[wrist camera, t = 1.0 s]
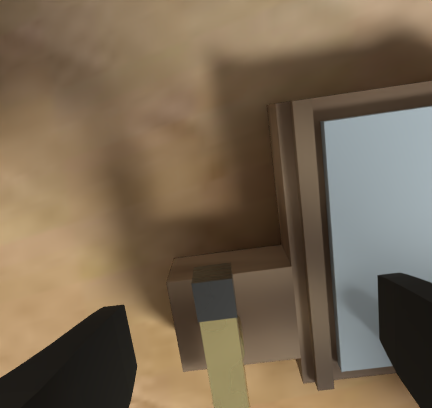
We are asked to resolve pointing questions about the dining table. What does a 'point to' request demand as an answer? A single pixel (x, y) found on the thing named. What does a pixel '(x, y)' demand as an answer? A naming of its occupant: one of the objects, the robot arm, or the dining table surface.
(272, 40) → the dining table surface
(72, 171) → the dining table surface
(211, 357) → the lever
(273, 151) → the case
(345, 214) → the lid
